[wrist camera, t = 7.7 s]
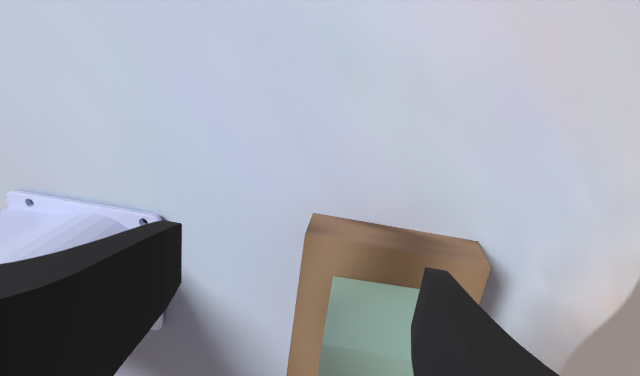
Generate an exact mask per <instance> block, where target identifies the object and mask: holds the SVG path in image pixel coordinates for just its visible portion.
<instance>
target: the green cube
mask: <svg viewBox="0 0 640 376" xmlns="http://www.w3.org/2000/svg"><path fill="white" fill-rule="evenodd" d="M419 291H420V289H415V288H408V287H402V286H395V285H389V284H382V283H375V282H369V281H362V280H356V279H349V278H342V277H336V276H333V279H332V285H331V291H330V297H329V303H328V309H327V315H326V321H325V327H324V333H323V339H322V345H321V353H320V361H319V369H318V376H414V375H413V368H412V360H411V324H412V319H413V315H414V311H415V307H416V303H417V299H418V295H419Z"/></svg>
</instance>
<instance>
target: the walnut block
mask: <svg viewBox="0 0 640 376" xmlns="http://www.w3.org/2000/svg"><path fill="white" fill-rule="evenodd" d="M425 267H429V268H434V269H440V270H445V271H448V272H449V273H450V274H451V275H452V276H453V277H454V278H455V279H456V281H457V282H458V283H459V284H460V285H461V286H462V287H463V288H464V289H465V291H466V292H467V293H468V294H469V295H470V296H471V297H472V298H473V299H474V301H475V302H476V303H477V304H478V305H480V301H481V298H482V295H483V292H484V289H485V285H486V282H487V279H488V276H489V273H490V269H491V266H490V264H489V262H488V260H487V258H486V256H485V254H484V252H483V250H482V248H481V246H480V244H479V242H478V241H472V240H467V239H461V238H455V237H449V236H443V235H438V234H432V233H426V232H420V231H414V230H409V229H403V228H397V227H391V226H385V225H380V224H374V223H368V222H362V221H356V220H351V219H345V218H339V217H333V216H327V215H322V214H316V213H313V215H312V217H311V220H310V223H309V225H308V228H307V231H306V233H305V239H304V247H303V254H302V262H301V269H300V277H299V285H298V292H297V300H296V307H295V315H294V322H293V330H292V338H291V345H290V353H289V360H288V368H287V375H286V376H318V369H319V361H320V353H321V345H322V339H323V333H324V327H325V321H326V315H327V309H328V303H329V297H330V291H331V285H332V279H333V276H336V277H342V278H349V279H356V280H362V281H369V282H375V283H382V284H389V285H395V286H402V287H408V288H415V289H420V286H421V282H422V278H423V274H424V270H425Z"/></svg>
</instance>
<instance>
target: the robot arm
mask: <svg viewBox="0 0 640 376" xmlns="http://www.w3.org/2000/svg"><path fill="white" fill-rule="evenodd" d="M30 199H31V200H32V201H33V203H34V204H33V203H32V202H31V200H30ZM6 200H7V207H8V208H7V209H4V210H2V211H0V376H113V375H114V374H115V373H116V371H117V370H118V369H119V367H120V366H121V365H122V364H123V363H124V361H125V360H126V359H127V358H128V356H129V355H130V354H131V353H132V351H133V350H134V349H135V348H136V346H137V345H138V344H139V343H140V341H141V340H142V339H143V338H144V336H145V335H146V334H147V333H148V331H149V330H154V331H157V330H159V329H160V328H161V327H162V326H163V323H164V313H163V312H164V311H165V310H166V308H167V306H168V305H169V303H170V301H171V300H172V298H173V296H174V295H175V293H176V291H177V289H178V287H179V286H180V284H181V249H182V224H181V223H175V222H170V221H164V220H162V219H161V217H160V216H159V215H157V214H154V213H148V212H142V211H136V210H130V209H124V208H118V207H113V206H107V205H101V204H95V203H89V202H83V201H77V200H71V199H66V198H60V197H54V196H48V195H42V194H36V193H30V192H25V191H19V190H14V191H11V192H9V193H8V194H7V196H6ZM143 218H144V219H146V220H147V222H148V224H146V223H144V222H143ZM411 360H412V368H413V375H414V376H559V375H558V374H556V373H555V372H554V371H552V370H551V369H550V368H548V367H547V366H546V365H544V364H543V363H542V362H541V361H539V360H538V359H537V358H536V357H534V356H533V355H532V354H531V353H529V352H528V351H527V350H526V349H524V348H523V347H522V346H521V345H520V344H518V343H517V342H516V341H515V340H514V339H513V338H512V337H511V336H510V335H508V334H507V333H506V332H505V331H504V330H503V329H502V328H501V327H500V326H499V325H498V324H497V323H496V322H495V321H494V320H493V319H492V318H491V317H490V316H489V315H488V314H487V313H486V312H485V311H484V310H483V309H482V308H481V307H480V306H479V305H478V304H477V303H476V302H475V301H474V299H473V298H472V297H471V296H470V295H469V294H468V293H467V292H466V291H465V289H464V288H463V287H462V286H461V285H460V284H459V283H458V282H457V281H456V279H455V278H454V277H453V276H452V275H451V274H450V273H449V272H448V271H445V270H440V269H434V268H429V267H425V270H424V274H423V278H422V282H421V286H420V291H419V295H418V299H417V303H416V307H415V311H414V315H413V319H412V324H411Z"/></svg>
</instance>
